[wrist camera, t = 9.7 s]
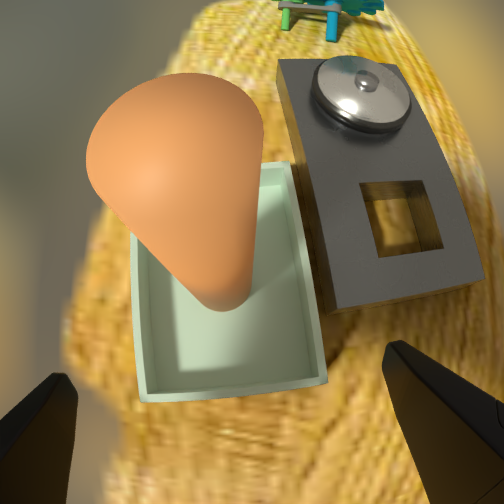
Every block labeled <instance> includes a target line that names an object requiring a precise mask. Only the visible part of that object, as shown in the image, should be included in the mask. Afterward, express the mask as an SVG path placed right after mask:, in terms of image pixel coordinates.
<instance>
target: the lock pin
mask: <svg viewBox="0 0 504 504" xmlns="http://www.w3.org/2000/svg"><path fill="white" fill-rule="evenodd" d="M263 136H264V131H263V122H262V119H261V115H260V113H259V111H258V109H257V106H256V105H255V104H254V102H253V101H252V99H251V98H250V97H249V96H248V95H247V94H246V93H245V92H244V91H243V90H241V89H240V88H239V87H237V86H236V85H234V84H232V83H231V82H229V81H226V80H224V79H222V78H218V77H215V76H211V75H206V74H199V73H179V74H171V75H166V76H162V77H159V78H155V79H153V80H150V81H147V82H145V83H142V84H140V85H138V86H136V87H135V88H133V89H131V90H130V91H128V92H127V93H125V94H124V95H122V96H121V97H120V98H118V99H117V100H116V101H115V102H114V103H113V104H112V105H111V106H110V107H109V108H108V109H107V110H106V111H105V113H104V114H103V115H102V116H101V118H100V119H99V121H98V122H97V124H96V126H95V128H94V130H93V131H92V134H91V137H90V139H89V143H88V147H87V153H86V167H87V172H88V177H89V179H90V182H91V184H92V186H93V188H94V189H95V191H96V192H97V194H98V195H99V196H100V197H101V199H102V200H103V201H104V202H105V203H106V204H107V205H108V206H109V208H110V209H111V210H112V211H113V212H114V213H115V214H116V215H117V216H118V218H119V219H120V220H121V221H122V222H123V223H124V224H125V225H126V226H127V227H128V228H129V230H130V231H131V232H132V233H133V234H134V235H135V236H136V237H137V238H138V239H139V240H140V241H141V242H142V244H143V245H144V246H145V247H146V248H147V249H148V250H149V251H150V252H151V253H152V254H153V255H154V256H155V257H156V258H157V259H158V260H159V261H160V262H161V263H162V264H163V265H164V266H165V268H166V269H167V270H168V271H169V272H170V273H171V274H172V275H173V276H174V277H175V278H176V279H177V280H178V281H179V282H180V283H181V284H182V285H183V286H184V287H185V288H186V289H187V290H188V291H189V292H190V293H191V294H192V295H193V296H194V297H195V298H196V299H197V300H198V301H199V302H200V303H202V304H203V305H204V306H205V307H207V308H208V309H211V310H213V311H217V312H226V311H231V310H234V309H236V308H237V307H239V306H240V305H242V304H243V303H244V302H245V300H246V299H247V298H248V296H249V293H250V291H251V285H252V273H253V261H254V248H255V236H256V224H257V211H258V199H259V186H260V174H261V161H262V149H263Z"/></svg>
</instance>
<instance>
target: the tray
mask: <svg viewBox="0 0 504 504" xmlns="http://www.w3.org/2000/svg"><path fill="white" fill-rule="evenodd" d="M130 261H131V299H132V319H133V334H134V347H135V359H136V369H137V378H138V387H139V395H140V402H174V401H193V400H207V399H219V398H230V397H240V396H249V395H257V394H265V393H272V392H279V391H286V390H292V389H298V388H304V387H310V386H316V385H321V384H326V383H328V376H327V369H326V362H325V355H324V348H323V341H322V334H321V328H320V321H319V315H318V309H317V303H316V297H315V291H314V285H313V279H312V273H311V268H310V262H309V257H308V251H307V246H306V240H305V235H304V230H303V225H302V220H301V215H300V210H299V205H298V200H297V195H296V190H295V185H294V181H293V176H292V171H291V167H290V162H289V161H281V162H269V163H261V174H260V186H259V199H258V211H257V224H256V236H255V248H254V261H253V273H252V285H251V291H250V293H249V296H248V298H247V299H246V300H245V302H244V303H243V304H242V305H240V306H239V307H237V308H236V309H234V310H231V311H226V312H217V311H213V310H211V309H208V308H207V307H205V306H204V305H203V304H202V303H200V302H199V301H198V300H197V299H196V298H195V297H194V296H193V295H192V294H191V293H190V292H189V291H188V290H187V289H186V288H185V287H184V286H183V285H182V284H181V283H180V282H179V281H178V280H177V279H176V278H175V277H174V276H173V275H172V274H171V273H170V272H169V271H168V270H167V269H166V268H165V266H164V265H163V264H162V263H161V262H160V261H159V260H158V259H157V258H156V257H155V256H154V255H153V254H152V253H151V252H150V251H149V250H148V249H147V248H146V247H145V246H144V245H143V244H142V242H141V241H140V240H139V239H138V238H137V237H136V236H135V235H134V234H133V233H132V232H131V235H130Z"/></svg>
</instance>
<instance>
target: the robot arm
mask: <svg viewBox="0 0 504 504" xmlns="http://www.w3.org/2000/svg"><path fill="white" fill-rule="evenodd" d="M382 371H383V374H384V378H385V381H386V384H387V387H388V391H389V394H390V398H391V401H392V404H393V408H394V411H395V414H396V417H397V420H398V422H399V425H400V427H401V430H402V432H403V434H404V437H405V439H406V442H407V444H408V447H409V449H410V452H411V454H412V457H413V459H414V462H415V465H416V467H417V470H418V472H419V475H420V478H421V480H422V483H423V486H424V488H425V491H426V494H427V497H428V499H429V502H430V504H504V403H502V402H501V401H499V400H496V399H495V398H494V397H492V396H491V395H489V394H488V393H486V392H484V391H483V390H481V389H480V388H478V387H476V386H475V385H473V384H472V383H470V382H468V381H467V380H465V379H464V378H462V377H460V376H459V375H457V374H456V373H454V372H452V371H451V370H449V369H448V368H446V367H444V366H443V365H441V364H440V363H438V362H436V361H435V360H433V359H432V358H430V357H428V356H427V355H425V354H424V353H422V352H420V351H419V350H417V349H415V348H414V347H412V346H411V345H409V344H407V343H406V342H404V341H402V340H398V341H393V342H389V343H388V344H387V346H386V349H385V353H384V357H383V361H382ZM77 406H78V393H77V391H76V389H75V387H74V386H73V384H72V382H71V381H70V379H69V377H68V376H67V375H66V374H65V373H58V372H54V373H52V374H51V375H49V376H48V377H47V378H46V379H45V380H44V381H43V382H42V383H41V384H39V385H38V386H37V387H36V388H35V389H34V390H33V391H31V392H30V393H29V394H28V395H27V396H26V397H25V398H24V399H23V400H22V401H20V402H19V403H18V404H17V405H16V406H15V407H14V408H13V409H12V410H10V411H9V412H8V414H6V415H5V416H4V417H3V418H2V419H1V420H0V504H66V498H67V490H68V482H69V473H70V467H71V461H72V453H73V448H74V441H75V429H76V417H77Z"/></svg>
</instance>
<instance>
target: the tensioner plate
mask: <svg viewBox="0 0 504 504" xmlns="http://www.w3.org/2000/svg"><path fill="white" fill-rule="evenodd" d="M276 85H277V89H278V93H279V96H280V100H281V104H282V108H283V112H284V116H285V120H286V124H287V128H288V132H289V136H290V140H291V144H292V148H293V152H294V157H295V161H296V165H297V170H298V174H299V178H300V183H301V187H302V192H303V197H304V201H305V206H306V211H307V216H308V220H309V225H310V230H311V235H312V240H313V246H314V251H315V256H316V261H317V267H318V272H319V278H320V283H321V289H322V295H323V301H324V307H325V313H326V315H332V314H338V313H344V312H350V311H356V310H361V309H367V308H372V307H378V306H383V305H388V304H393V303H398V302H403V301H408V300H413V299H417V298H422V297H427V296H431V295H436V294H440V293H444V292H449V291H453V290H457V289H461V288H465V287H467V286H469V285H472V284H474V283H476V282H479V281H481V280H483V279H485V276H484V272H483V268H482V264H481V260H480V257H479V253H478V249H477V246H476V242H475V239H474V236H473V232H472V229H471V226H470V223H469V220H468V217H467V214H466V211H465V208H464V205H463V202H462V199H461V197H460V194H459V191H458V189H457V186H456V183H455V181H454V178H453V176H452V173H451V171H450V168H449V166H448V164H447V161H446V159H445V157H444V154H443V152H442V150H441V148H440V145H439V143H438V141H437V139H436V137H435V135H434V133H433V131H432V129H431V126H430V124H429V122H428V120H427V118H426V116H425V115H424V113H423V111H422V109H421V107H420V105H419V103H418V101H417V99H416V98H415V96H414V94H413V92H412V90H411V89H410V87H409V85H408V83H407V82H406V80H405V78H404V77H403V75H402V73H401V72H400V70H399V68H398V67H397V65H394V64H385V63H377V62H374V61H372V60H369V59H366V58H362V57H358V56H337V57H333V58H330V59H278V64H277V75H276ZM401 198H407V201H408V205H409V208H410V211H411V214H412V217H413V221H414V224H415V228H416V231H417V235H418V238H419V242H420V245H421V249H422V252H418V253H411V254H404V255H397V256H390V257H383V258H378V254H377V250H376V245H375V241H374V237H373V233H372V229H371V225H370V222H369V218H368V214H367V211H366V207H365V203H364V201H372V200H386V199H401Z"/></svg>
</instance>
